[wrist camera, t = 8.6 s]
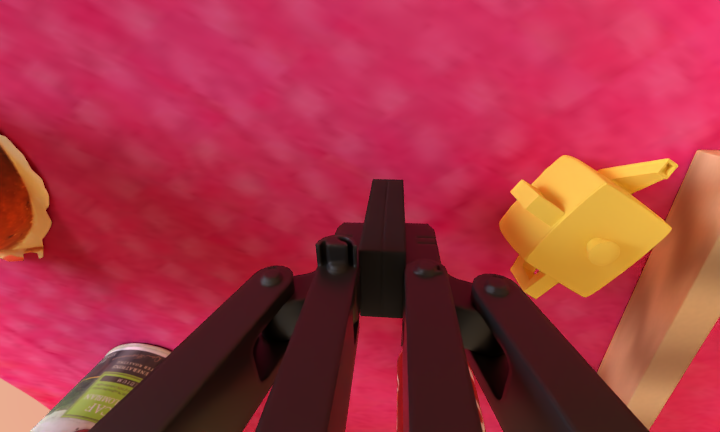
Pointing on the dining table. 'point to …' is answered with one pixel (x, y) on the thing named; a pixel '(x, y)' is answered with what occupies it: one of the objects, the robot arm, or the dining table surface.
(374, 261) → the robot arm
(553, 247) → the teapot
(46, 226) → the vessel
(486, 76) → the dining table surface
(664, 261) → the wooden bar
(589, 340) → the dining table surface
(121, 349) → the coffee can
